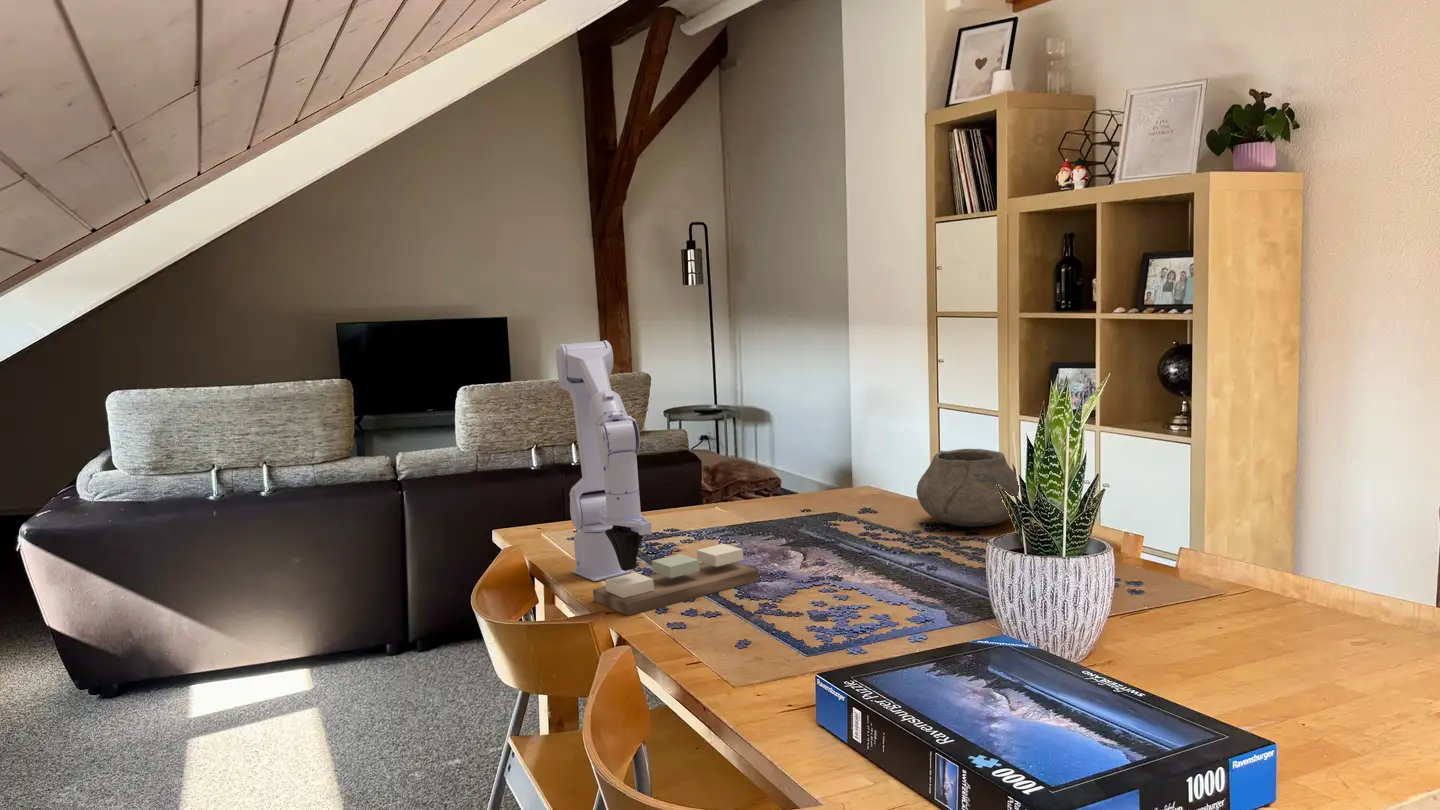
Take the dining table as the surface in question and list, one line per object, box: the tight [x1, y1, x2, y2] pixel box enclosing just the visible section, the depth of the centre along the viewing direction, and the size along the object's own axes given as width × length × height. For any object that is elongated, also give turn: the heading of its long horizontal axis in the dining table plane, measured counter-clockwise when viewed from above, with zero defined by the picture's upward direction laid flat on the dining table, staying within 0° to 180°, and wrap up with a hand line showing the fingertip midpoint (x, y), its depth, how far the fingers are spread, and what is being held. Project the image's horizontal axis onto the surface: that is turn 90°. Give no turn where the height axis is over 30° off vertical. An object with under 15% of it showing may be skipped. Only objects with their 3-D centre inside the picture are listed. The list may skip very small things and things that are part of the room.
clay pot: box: [915, 448, 1019, 528], centre depth 217 cm, size 22×21×15 cm
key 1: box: [604, 572, 654, 598], centre depth 178 cm, size 6×6×2 cm
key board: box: [592, 562, 760, 617], centre depth 184 cm, size 12×27×2 cm, turn 125°
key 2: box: [696, 543, 744, 567], centre depth 189 cm, size 6×6×2 cm
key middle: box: [651, 553, 700, 578], centre depth 183 cm, size 6×6×2 cm
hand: (628, 569), depth 178 cm, fingers closed
